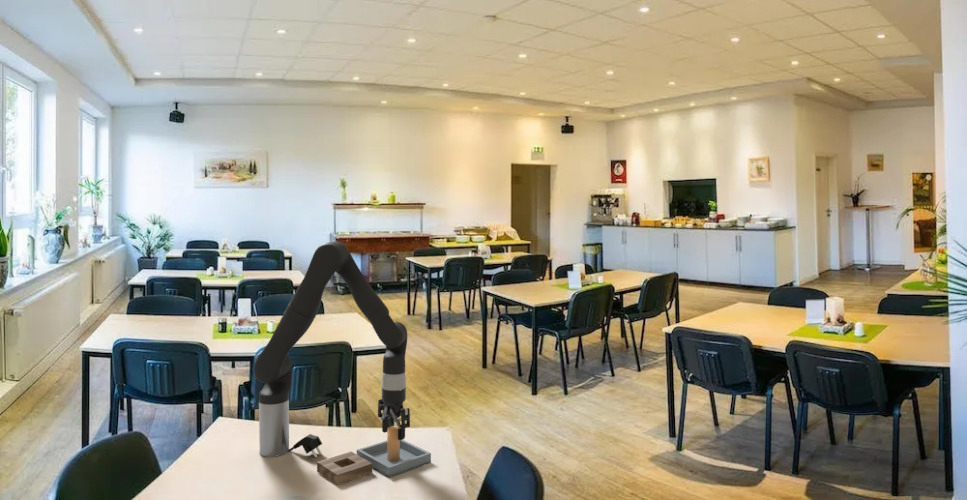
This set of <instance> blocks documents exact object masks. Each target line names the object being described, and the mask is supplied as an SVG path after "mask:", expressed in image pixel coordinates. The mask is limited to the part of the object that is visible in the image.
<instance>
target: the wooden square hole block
mask: <svg viewBox="0 0 967 500" xmlns="http://www.w3.org/2000/svg"><path fill="white" fill-rule="evenodd" d="M316 472H317V473H318V474H320V475H321V476H323V477H325V479H328V480H329V481H330V482H332V483H334V484H335V485H337V486H338V485H341V484H344V483H347V482H350V481H352V480H356V479H358V478H362V477H365V476H367V475H370V474H372V473H373V468H372V463H371V462H369V461H367V460H366V459H364V458H362V457H360V456H359V455H357V453H355V452H353V451H349V452H345V453H341V454H339V455H336V456H332V457H330V458H329V457H327V458H326V459H323V460H319V461H316Z"/></svg>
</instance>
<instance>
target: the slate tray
mask: <svg viewBox="0 0 967 500" xmlns="http://www.w3.org/2000/svg"><path fill="white" fill-rule="evenodd" d="M356 454H357V455H359V456H360V457H362V458H364V459H366V460H367V461H369V462H371V463H372V469H374V470H375V471H377V472H379V473H380V474H382V475H384V476H386V477H387V478H392V477H394V476H396V475H400V474H402V473H405V472H408V471H410V470H414V469H417V468H420V467H422V466H424V465H425V466H426V465H428V464H431V463H432V453H431V452H429V451H427V450H425V449H423V448H421V447H420V446H417V445H415V444H412V443H411V442H408V441H406V440H405V439H403V440H400V459H399V460H398V461H388V460H387V440H383V441H381V442H378V443H375V444H372V445H367V446H365V447H361V448H358V449H356Z"/></svg>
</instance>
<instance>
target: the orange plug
mask: <svg viewBox="0 0 967 500" xmlns="http://www.w3.org/2000/svg"><path fill="white" fill-rule="evenodd" d="M386 434H387V437H386V438H387V439H386V441H387V460H388V461H398V460H399V459H400V440H398V426H397V425H391V426H390V425H389V427H388V428H387V432H386Z"/></svg>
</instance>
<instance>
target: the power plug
mask: <svg viewBox="0 0 967 500" xmlns="http://www.w3.org/2000/svg"><path fill="white" fill-rule="evenodd" d="M321 445H323V442H322V441H321V438H320V437H319V436H318V435H314V434H312V433H309V434H308V435H306V436H304V437H303V438H301V439H300V440H299V441H297V442H296V443H295V444H294V445H293V446H292V447H290V448H289V451H288V452H291V451H293V450H296V449H297V448H300V447H301V446H302V448H303V449H304V452H305V453H306V455H307V454H309V453H312V454H313V457H314V458H315V459H316V458H318V455H317V454H316V452H315V449H316V451H317V453H318V454H319V455H320V456H322V455H323V453H322V451H321V449H320V446H321Z"/></svg>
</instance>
